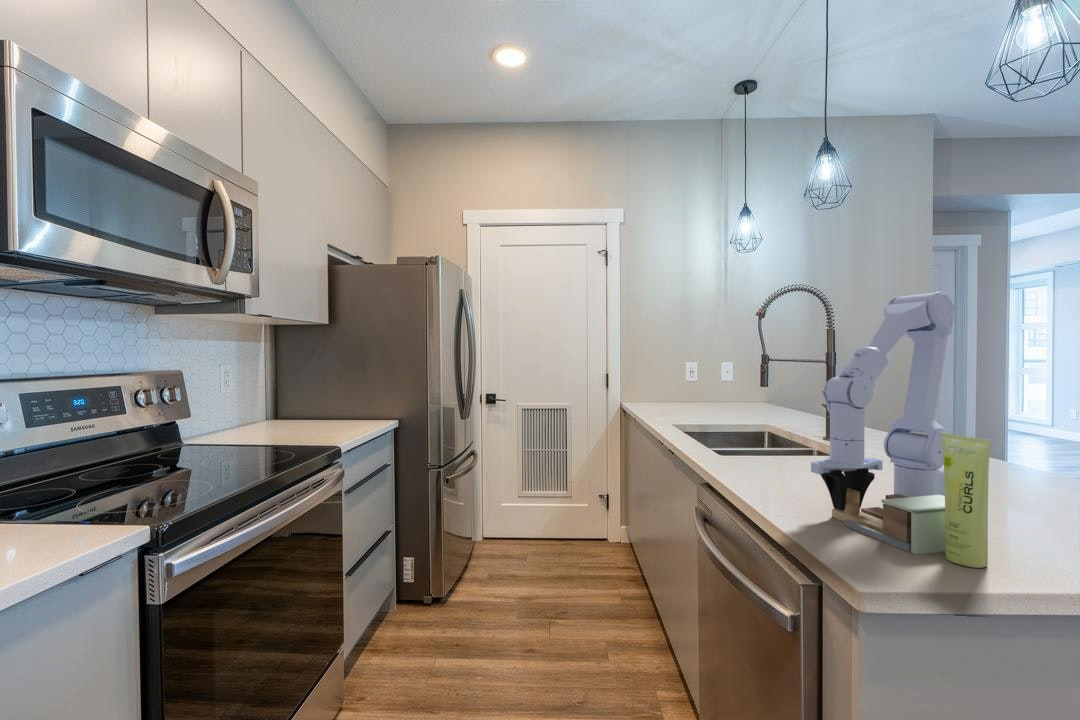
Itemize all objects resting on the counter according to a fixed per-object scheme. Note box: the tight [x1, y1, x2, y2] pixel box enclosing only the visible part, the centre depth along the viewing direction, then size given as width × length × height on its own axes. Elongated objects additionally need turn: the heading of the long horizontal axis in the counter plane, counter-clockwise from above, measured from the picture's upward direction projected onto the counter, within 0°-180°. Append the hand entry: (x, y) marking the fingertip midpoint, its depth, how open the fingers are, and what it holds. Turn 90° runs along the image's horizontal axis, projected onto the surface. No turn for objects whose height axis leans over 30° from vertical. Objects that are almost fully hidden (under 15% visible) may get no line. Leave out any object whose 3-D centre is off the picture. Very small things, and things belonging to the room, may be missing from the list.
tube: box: [942, 433, 991, 569], centre depth 78 cm, size 6×5×20 cm
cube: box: [882, 503, 911, 539], centre depth 86 cm, size 4×4×4 cm
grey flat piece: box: [843, 519, 911, 553], centre depth 90 cm, size 13×13×2 cm
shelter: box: [880, 495, 946, 555], centre depth 85 cm, size 12×6×7 cm, turn 102°
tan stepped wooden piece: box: [831, 488, 911, 544], centre depth 92 cm, size 4×16×6 cm, turn 12°
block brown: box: [860, 493, 907, 520], centre depth 96 cm, size 4×8×6 cm, turn 12°
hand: (846, 508), depth 98 cm, fingers closed on tan stepped wooden piece, 3 cm apart
